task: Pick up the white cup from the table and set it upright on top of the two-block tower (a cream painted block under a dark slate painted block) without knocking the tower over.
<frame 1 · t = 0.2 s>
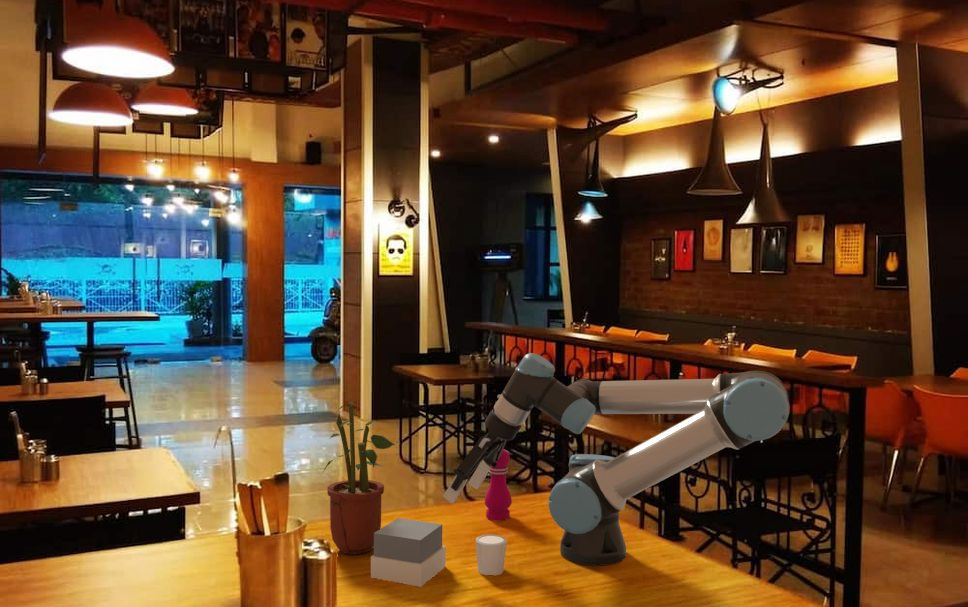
hand: (461, 492, 182), 15 cm above the table, tool tilted 30°, fingers open, 13 cm apart
potted plant: (355, 547, 189), on the table
white cup: (490, 571, 175), on the table
tower base: (408, 573, 173), on the table, touching tower top
pepper mill: (497, 518, 211), on the table
tower top: (408, 551, 173), point 5 cm above the table, touching tower base
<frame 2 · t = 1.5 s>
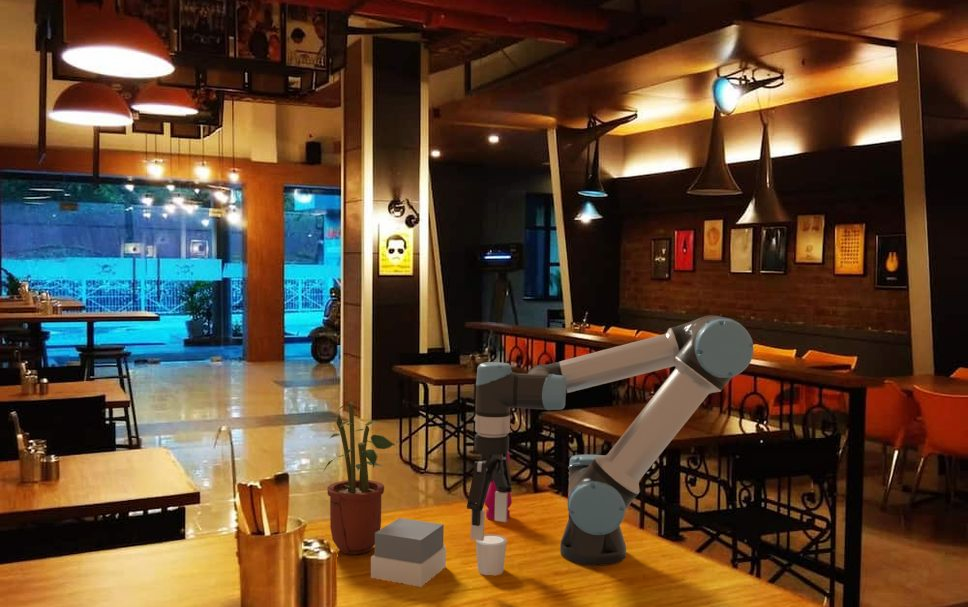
hand: (489, 530, 174), 9 cm above the table, tool pointing down, fingers open, 13 cm apart
nothing on the table moved.
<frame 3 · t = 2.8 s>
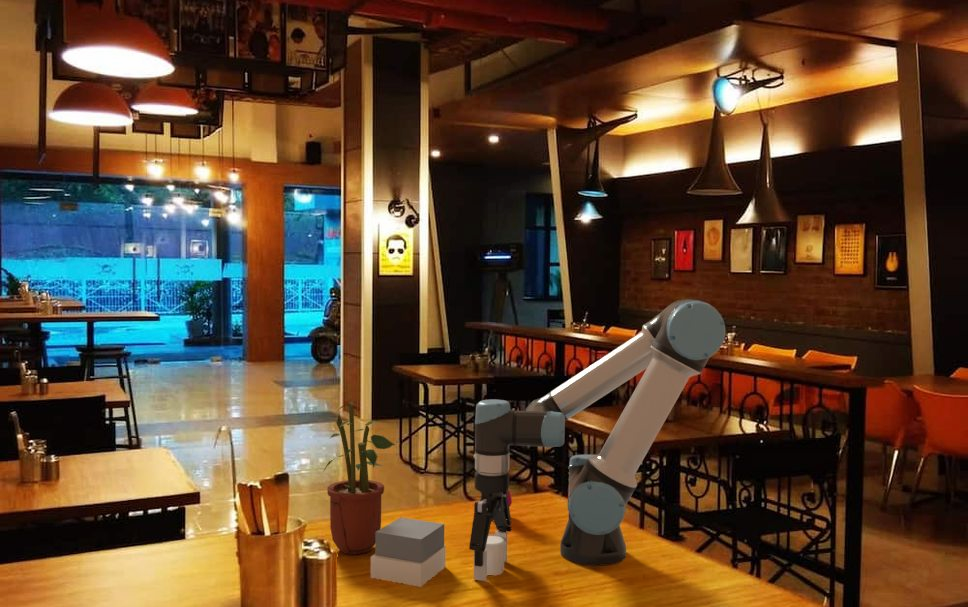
hand: (490, 569, 175), 0 cm above the table, tool pointing down, fingers open, 11 cm apart
nothing on the table moved.
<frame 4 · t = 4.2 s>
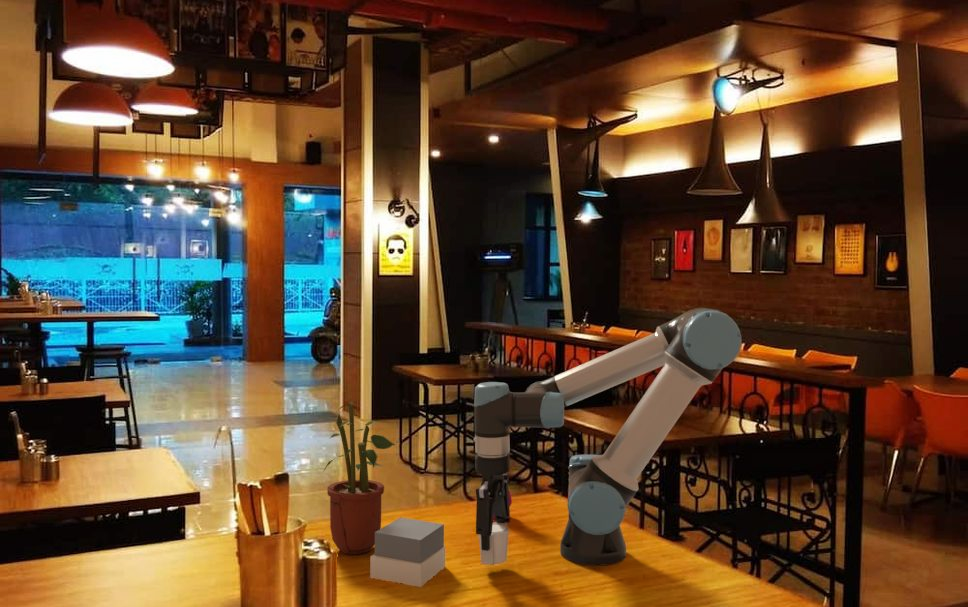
hand: (493, 557, 174), 3 cm above the table, tool pointing down, fingers closed on white cup, 7 cm apart
white cup: (493, 560, 174), point 2 cm above the table, touching gripper
everything else where it was.
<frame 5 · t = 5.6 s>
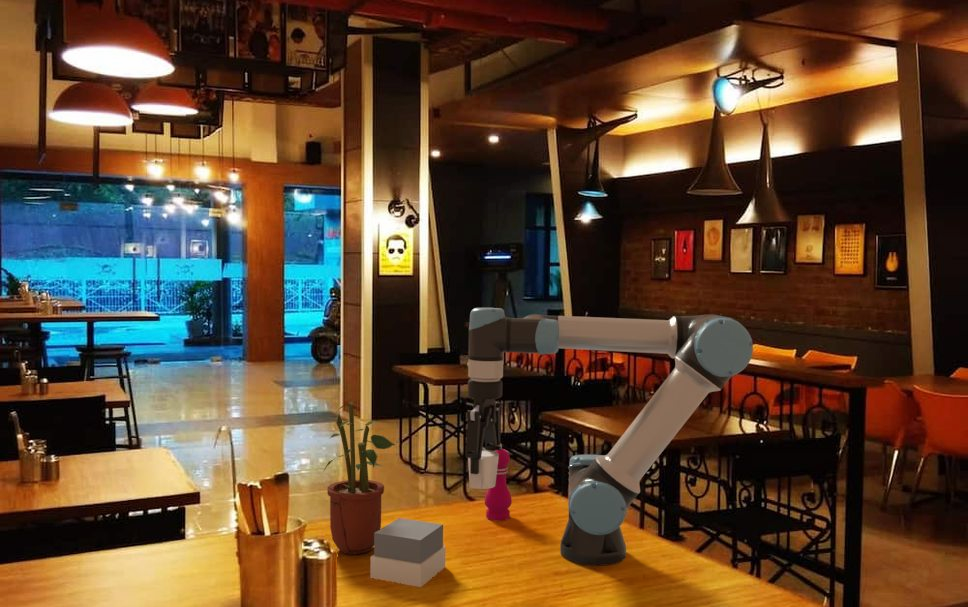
hand: (482, 483, 174), 19 cm above the table, tool pointing down, fingers closed on white cup, 7 cm apart
white cup: (482, 486, 174), point 19 cm above the table, touching gripper
everything else where it was.
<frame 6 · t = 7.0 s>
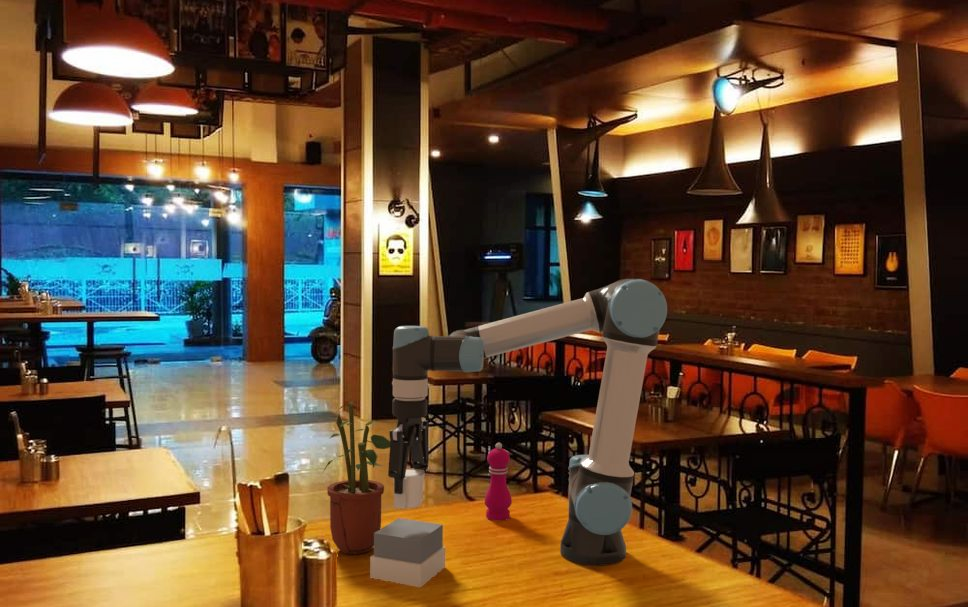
hand: (408, 502, 172), 15 cm above the table, tool pointing down, fingers closed on white cup, 7 cm apart
white cup: (408, 505, 172), point 15 cm above the table, touching gripper
everything else where it was.
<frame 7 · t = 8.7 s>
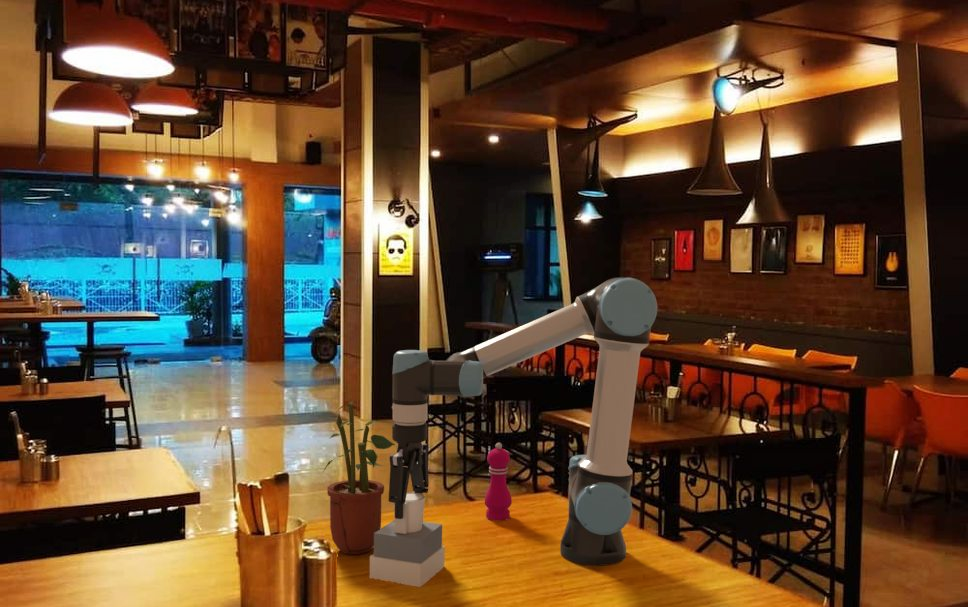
hand: (409, 527, 173), 10 cm above the table, tool pointing down, fingers closed on white cup, 7 cm apart
white cup: (408, 529, 173), point 9 cm above the table, touching gripper
everything else where it was.
when the fingers open (10 cm above the table, at t = 8.8 s): white cup stays where it is, resting on tower top.
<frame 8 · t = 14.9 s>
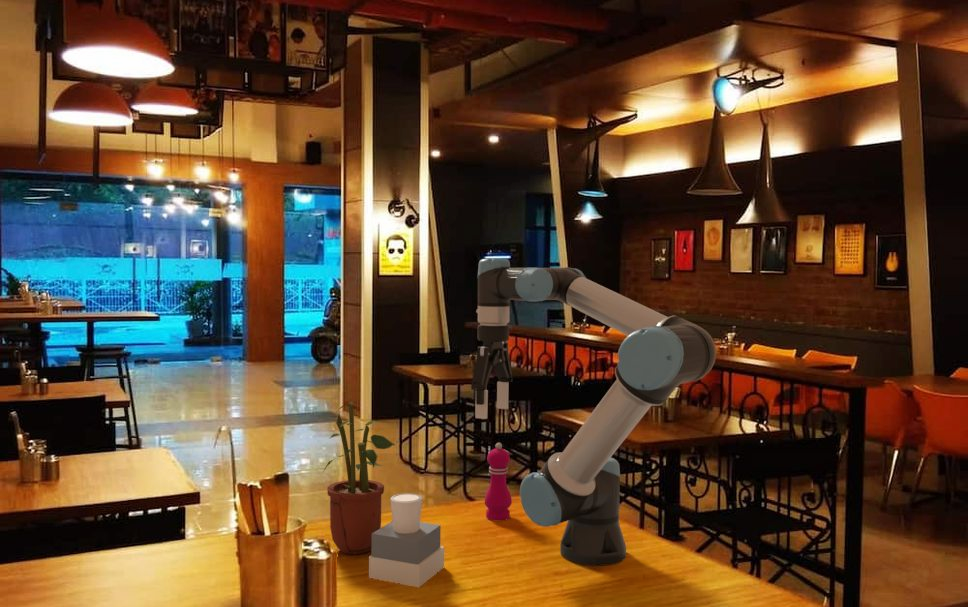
hand: (492, 413, 189), 32 cm above the table, tool pointing down, fingers open, 13 cm apart
white cup: (406, 530, 172), point 9 cm above the table, touching tower top
tower top: (406, 551, 172), point 5 cm above the table, touching white cup, tower base
everything else where it was.
at the end: white cup 0.0 cm off-centre on the tower top, point 4.8 cm above the tower top's base; tower top 0.3 cm off-centre on the tower base, point 5.0 cm above the tower base's base; white cup tilted 0° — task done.
